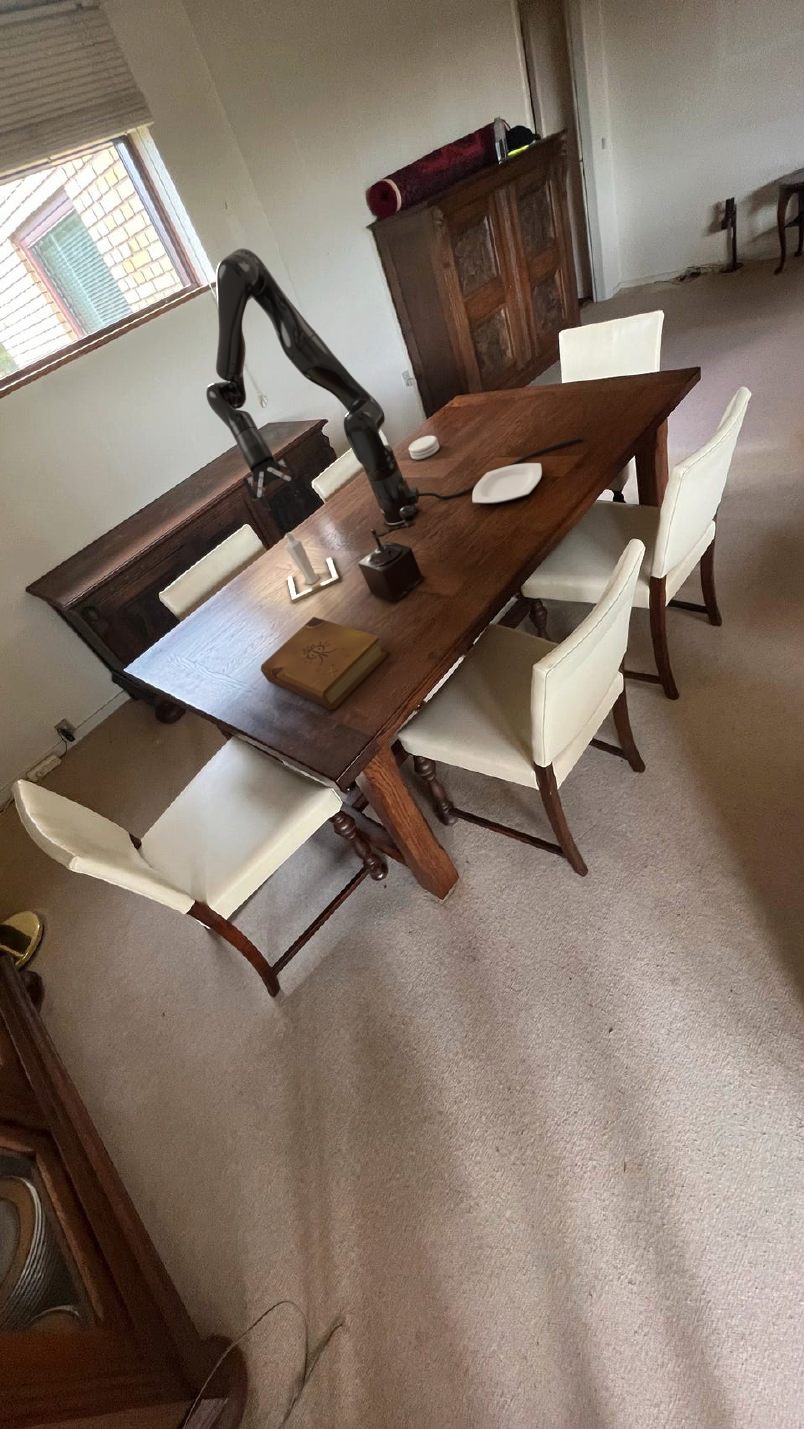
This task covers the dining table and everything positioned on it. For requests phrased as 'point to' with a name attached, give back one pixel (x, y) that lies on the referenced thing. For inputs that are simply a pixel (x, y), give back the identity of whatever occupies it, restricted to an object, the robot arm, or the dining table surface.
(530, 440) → the dining table surface
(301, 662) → the diary
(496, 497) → the plate
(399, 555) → the black coffee grinder
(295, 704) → the dining table surface
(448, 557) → the dining table surface
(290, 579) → the brass frame
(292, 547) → the white faceted vase
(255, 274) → the robot arm
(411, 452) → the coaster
